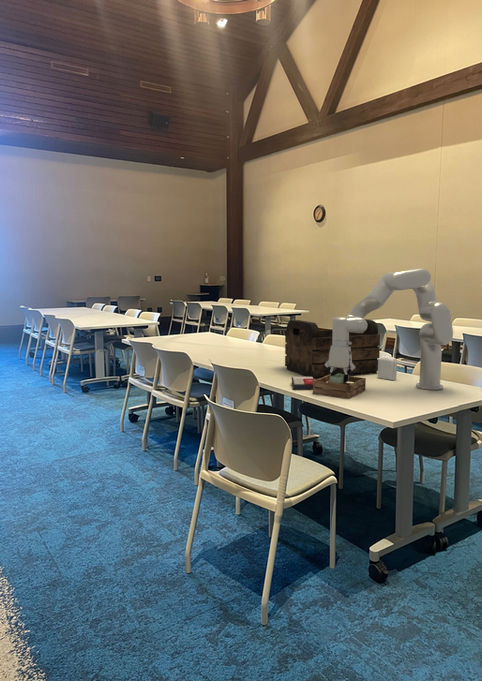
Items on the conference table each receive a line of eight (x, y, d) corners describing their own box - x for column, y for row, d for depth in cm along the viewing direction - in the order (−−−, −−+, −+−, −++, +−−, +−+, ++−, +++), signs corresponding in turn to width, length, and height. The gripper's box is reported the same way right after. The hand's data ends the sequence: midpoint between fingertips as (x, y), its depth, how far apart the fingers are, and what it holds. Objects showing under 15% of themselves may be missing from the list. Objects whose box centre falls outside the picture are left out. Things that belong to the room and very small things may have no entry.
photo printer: (376, 378, 258) (376, 355, 257) (380, 376, 261) (381, 354, 259) (393, 381, 250) (393, 357, 249) (397, 379, 253) (398, 356, 251)
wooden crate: (313, 380, 255) (314, 324, 251) (284, 369, 286) (285, 319, 282) (379, 373, 270) (380, 321, 266) (344, 364, 301) (345, 316, 298)
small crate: (338, 379, 231) (338, 373, 231) (348, 380, 228) (348, 374, 228) (329, 383, 223) (329, 376, 223) (340, 384, 220) (340, 378, 220)
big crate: (330, 385, 240) (330, 374, 239) (365, 390, 230) (365, 378, 229) (312, 393, 223) (312, 381, 223) (349, 398, 213) (349, 385, 212)
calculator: (293, 383, 231) (291, 375, 245) (293, 392, 231) (291, 383, 246) (316, 383, 230) (313, 375, 245) (316, 392, 231) (313, 383, 246)
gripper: (360, 344, 222) (359, 382, 224) (326, 341, 231) (326, 378, 234) (354, 345, 216) (353, 385, 218) (320, 343, 225) (319, 380, 228)
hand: (339, 381), depth 226 cm, fingers closed on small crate, 5 cm apart
